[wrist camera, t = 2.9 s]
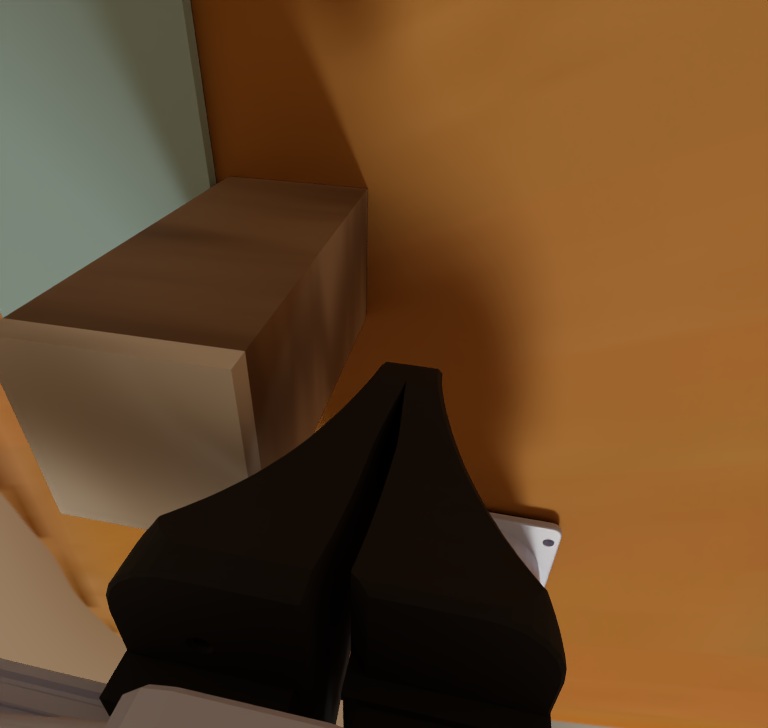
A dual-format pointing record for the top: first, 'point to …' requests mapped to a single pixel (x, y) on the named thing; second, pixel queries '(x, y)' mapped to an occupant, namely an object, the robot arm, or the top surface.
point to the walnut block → (190, 348)
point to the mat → (93, 132)
